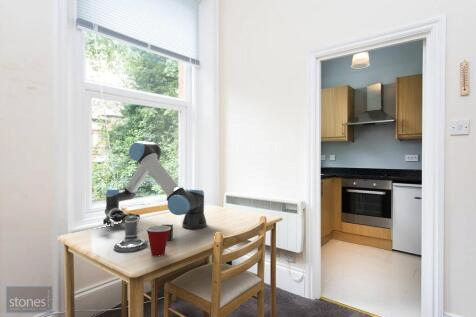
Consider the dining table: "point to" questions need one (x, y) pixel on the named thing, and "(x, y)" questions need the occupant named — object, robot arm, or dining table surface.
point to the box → (169, 232)
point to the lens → (131, 227)
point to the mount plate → (130, 245)
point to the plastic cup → (158, 239)
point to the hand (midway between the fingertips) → (126, 222)
